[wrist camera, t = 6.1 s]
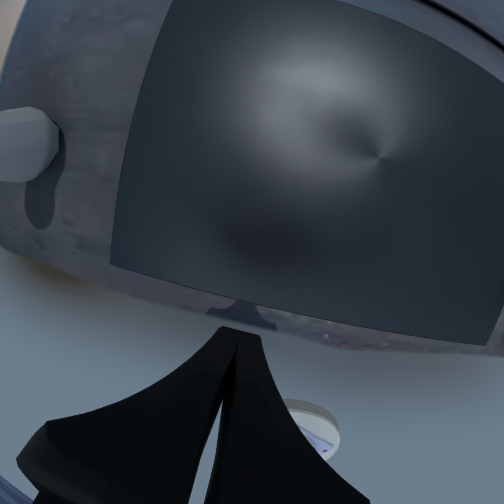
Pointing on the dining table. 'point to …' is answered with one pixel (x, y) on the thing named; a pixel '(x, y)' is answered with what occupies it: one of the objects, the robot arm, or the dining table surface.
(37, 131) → the salt shaker
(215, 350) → the robot arm
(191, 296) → the dining table surface
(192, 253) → the panel
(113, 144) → the dining table surface
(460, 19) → the dining table surface
